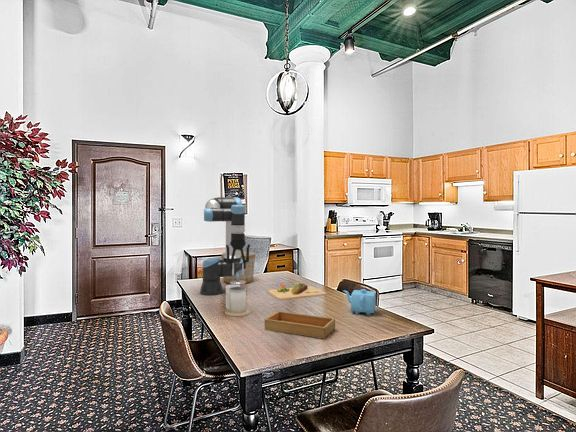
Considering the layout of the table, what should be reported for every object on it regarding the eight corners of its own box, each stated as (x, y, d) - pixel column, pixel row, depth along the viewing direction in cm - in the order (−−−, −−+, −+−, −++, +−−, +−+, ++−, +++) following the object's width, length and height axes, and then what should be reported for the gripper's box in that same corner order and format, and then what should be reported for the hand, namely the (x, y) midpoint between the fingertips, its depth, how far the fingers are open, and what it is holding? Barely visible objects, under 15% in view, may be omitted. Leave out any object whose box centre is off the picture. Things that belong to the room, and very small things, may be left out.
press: (224, 309, 208) (224, 286, 208) (248, 308, 212) (248, 285, 211) (226, 317, 195) (226, 292, 194) (252, 315, 198) (252, 290, 198)
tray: (264, 330, 177) (264, 318, 176) (278, 321, 190) (278, 310, 190) (324, 340, 163) (324, 328, 163) (335, 330, 177) (335, 318, 177)
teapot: (375, 309, 210) (376, 287, 210) (372, 317, 196) (373, 293, 195) (344, 306, 216) (344, 285, 216) (339, 314, 202) (339, 290, 201)
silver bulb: (229, 281, 206) (229, 262, 205) (244, 281, 208) (244, 261, 207) (230, 285, 197) (230, 264, 197) (246, 284, 200) (246, 264, 199)
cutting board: (279, 301, 230) (279, 289, 230) (266, 292, 251) (266, 282, 251) (327, 295, 244) (328, 284, 244) (311, 288, 266) (311, 278, 265)
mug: (246, 304, 219) (246, 287, 219) (226, 306, 216) (226, 288, 216) (244, 301, 227) (244, 284, 227) (225, 302, 224) (225, 284, 224)
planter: (222, 278, 296) (222, 251, 296) (254, 277, 299) (254, 251, 299) (220, 285, 271) (220, 256, 270) (255, 284, 273) (255, 255, 273)
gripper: (222, 233, 196) (222, 277, 197) (254, 233, 200) (254, 275, 201) (221, 232, 203) (221, 274, 204) (252, 232, 208) (252, 273, 208)
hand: (237, 274), depth 202 cm, fingers closed on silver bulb, 5 cm apart
